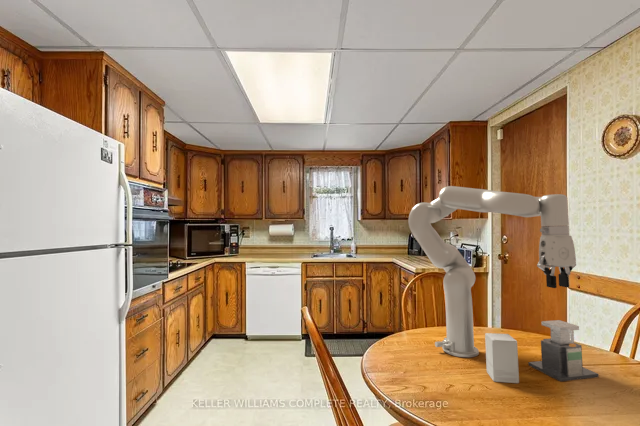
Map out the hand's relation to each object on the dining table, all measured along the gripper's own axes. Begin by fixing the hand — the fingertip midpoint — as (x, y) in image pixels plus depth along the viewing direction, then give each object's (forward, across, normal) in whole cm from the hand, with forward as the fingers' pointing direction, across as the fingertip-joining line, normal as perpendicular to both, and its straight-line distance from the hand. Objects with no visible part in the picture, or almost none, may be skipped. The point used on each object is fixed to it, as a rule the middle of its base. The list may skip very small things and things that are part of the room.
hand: (557, 286), depth 107 cm
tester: (+27, 0, 0) cm, 27 cm away
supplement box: (+28, -22, 0) cm, 35 cm away
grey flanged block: (+21, 0, -1) cm, 21 cm away
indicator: (+17, -1, -6) cm, 18 cm away
